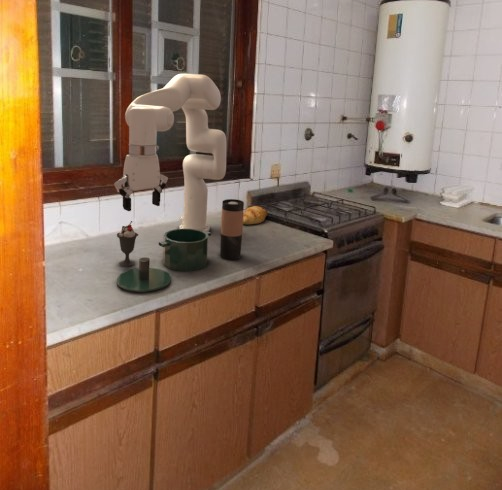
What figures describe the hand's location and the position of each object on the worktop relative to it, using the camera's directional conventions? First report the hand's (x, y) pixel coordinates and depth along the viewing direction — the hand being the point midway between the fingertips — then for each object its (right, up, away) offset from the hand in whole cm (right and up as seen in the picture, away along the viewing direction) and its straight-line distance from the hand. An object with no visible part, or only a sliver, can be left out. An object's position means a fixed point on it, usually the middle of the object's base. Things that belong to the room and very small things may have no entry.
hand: (141, 207), depth 130 cm
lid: (0, -22, +1) cm, 22 cm away
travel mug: (+25, -19, +26) cm, 41 cm away
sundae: (-8, -20, +14) cm, 26 cm away
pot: (+10, -20, +18) cm, 29 cm away
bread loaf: (+33, -12, +71) cm, 79 cm away
